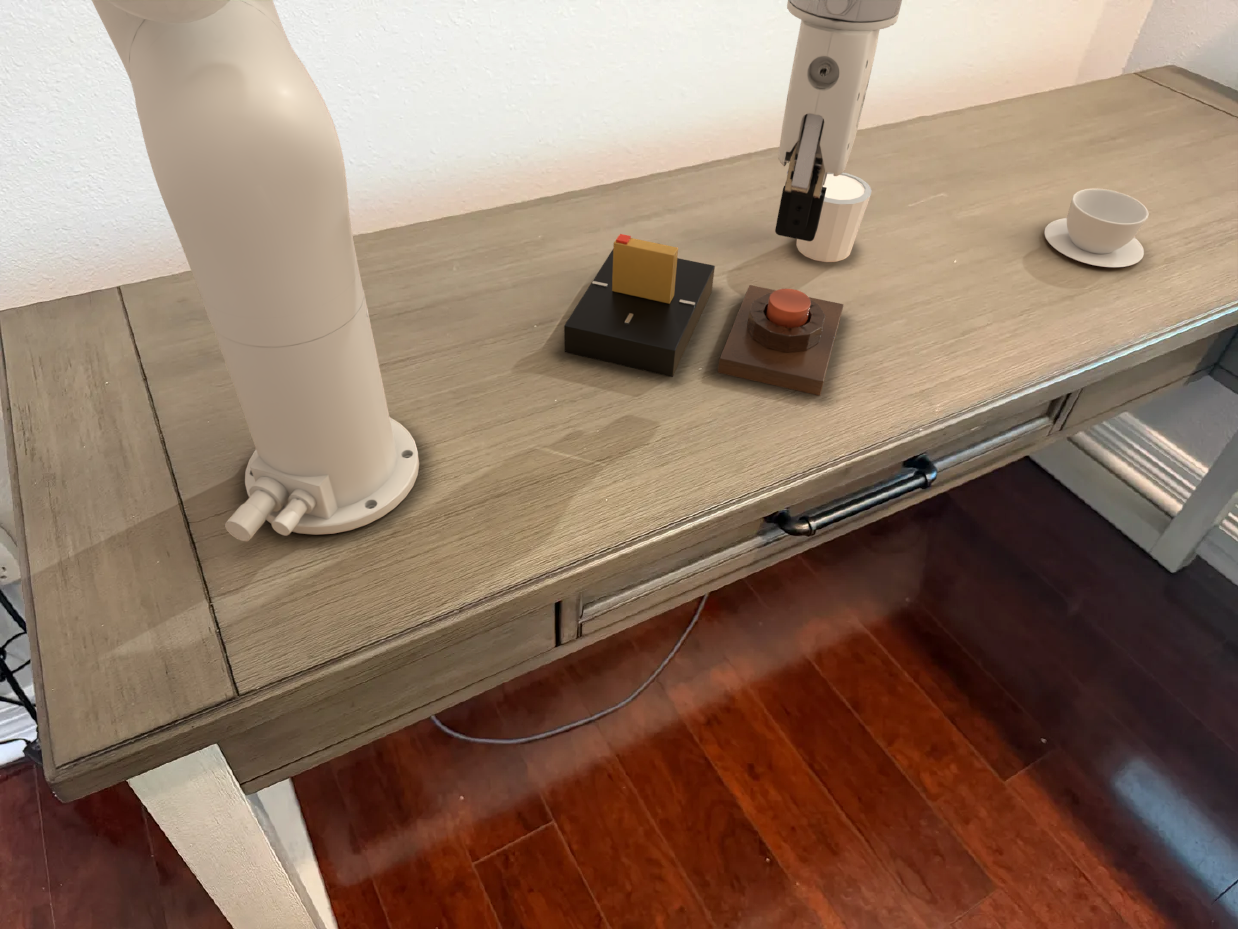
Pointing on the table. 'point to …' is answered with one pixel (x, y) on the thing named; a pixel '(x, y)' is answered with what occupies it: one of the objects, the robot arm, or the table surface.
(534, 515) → the table surface
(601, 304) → the plate
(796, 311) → the button
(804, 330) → the button block
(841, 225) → the beige cup
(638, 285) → the yellow flat block
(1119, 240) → the teacup
